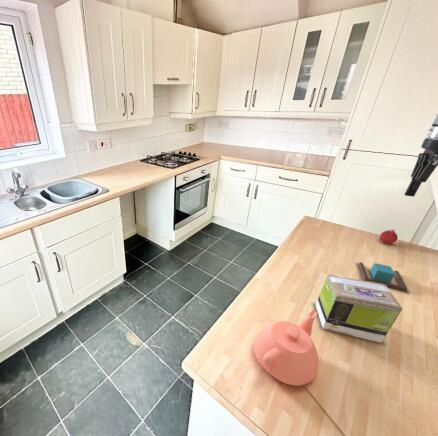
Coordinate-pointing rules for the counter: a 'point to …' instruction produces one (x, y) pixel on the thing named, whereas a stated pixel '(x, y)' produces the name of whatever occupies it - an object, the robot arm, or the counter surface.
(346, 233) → the counter surface
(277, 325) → the teapot
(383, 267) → the teal block
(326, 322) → the tea box
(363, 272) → the frame
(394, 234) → the onion
